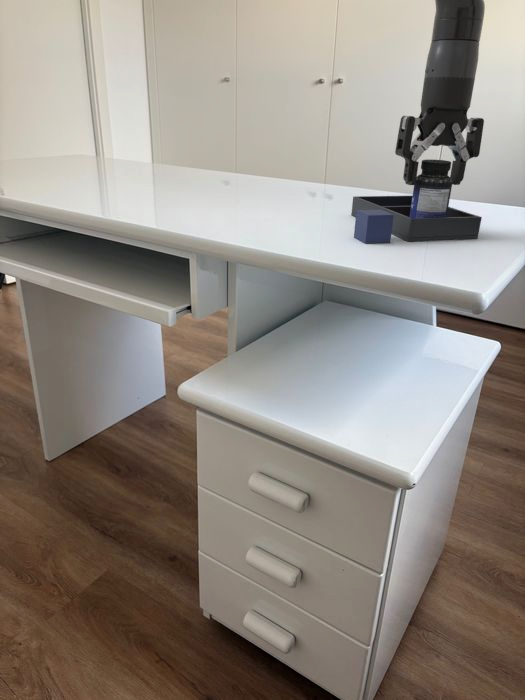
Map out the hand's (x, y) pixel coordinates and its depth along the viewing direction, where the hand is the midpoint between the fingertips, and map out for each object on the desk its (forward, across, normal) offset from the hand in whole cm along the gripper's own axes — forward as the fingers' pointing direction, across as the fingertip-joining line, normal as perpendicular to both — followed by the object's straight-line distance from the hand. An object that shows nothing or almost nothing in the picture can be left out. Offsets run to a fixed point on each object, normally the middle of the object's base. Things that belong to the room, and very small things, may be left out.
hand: (432, 184), depth 90 cm
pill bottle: (+7, 0, 0) cm, 7 cm away
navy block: (+8, -12, -4) cm, 15 cm away
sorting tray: (+8, 0, +5) cm, 10 cm away
